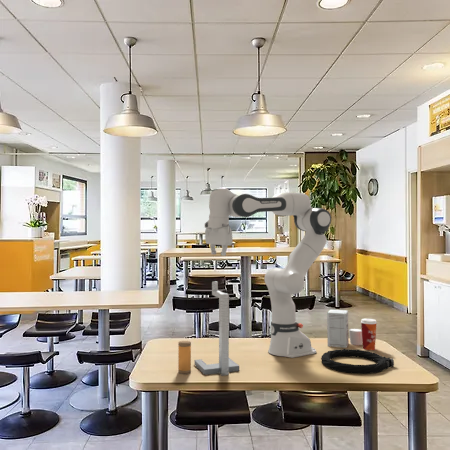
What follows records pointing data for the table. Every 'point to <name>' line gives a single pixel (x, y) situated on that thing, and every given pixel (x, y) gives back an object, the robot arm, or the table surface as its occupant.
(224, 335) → the hook stand
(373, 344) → the paper cup
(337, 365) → the cable lock
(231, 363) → the grey u-shaped bracket
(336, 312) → the supplement box
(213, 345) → the table surface
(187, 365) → the orange brown canister
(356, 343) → the white short cylinder
